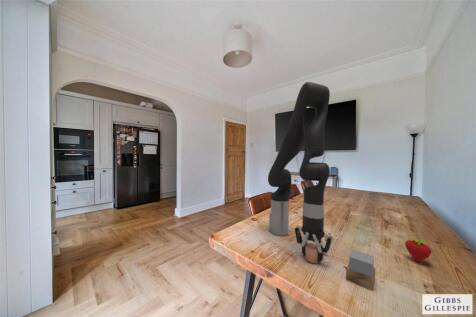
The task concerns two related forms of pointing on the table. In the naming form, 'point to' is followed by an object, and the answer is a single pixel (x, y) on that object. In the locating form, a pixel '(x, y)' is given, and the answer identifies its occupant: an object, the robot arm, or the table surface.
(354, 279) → the tower base
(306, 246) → the terracotta cylinder
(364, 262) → the tower middle
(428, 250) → the strawberry
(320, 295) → the table surface
